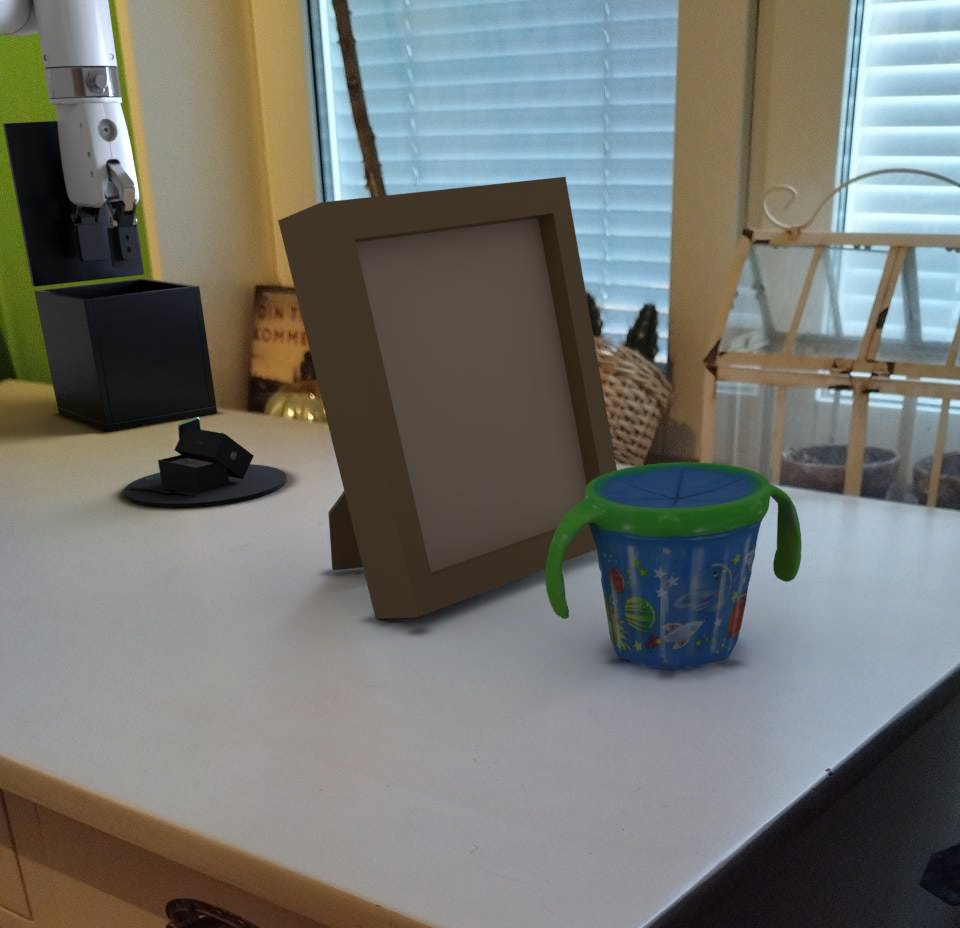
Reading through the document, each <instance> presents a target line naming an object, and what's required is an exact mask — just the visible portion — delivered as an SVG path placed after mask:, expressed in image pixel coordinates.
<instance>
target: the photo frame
mask: <svg viewBox="0 0 960 928" xmlns="http://www.w3.org/2000/svg"><path fill="white" fill-rule="evenodd" d="M277 222H278V226H279V230H280V234H281V238H282V242H283V246H284V250H285V255H286V260H287V263H288V267H289V271H290V275H291V280H292V284H293V288H294V291H295V295H296V300H297V303H298V308H299V312H300V317H301V320H302V325H303V328H304V333H305V337H306V340H307V344H308V348H309V353H310V356H311V361H312V364H313V365H312V366H313V369H314V373H315V377H316V381H317V385H318V390H319V394H320V398H321V401H322V405H323V409H324V410H323V411H324V413H325V418H326V422H327V426H328V430H329V435H330V439H331V444H332V446H333V451H334V455H335V458H336V463H337V466H338V471H339V475H340V479H341V484H342V487H343V492H342V493H341V495H340V496H339V497H338V499H337V500H336V501H335V502H334V504H333V505H332V506H331V508H330V509H329V510H328V513H327V514H328V527H329V541H330V542H329V543H330V557H331V569H332V571H341V570H351V569H363V574H364V577H365V582H366V586H367V590H368V594H369V597H370V602H371V606H372V610H373V614H374V618H375V620H380V619H404V618H405V619H406V618H419V617H423V616H425V615H428V614H430V613H433V612H436V611H438V610H440V609H443V608H446V607H448V606H451V605H455V604H457V603H459V602H462V601H465V600H467V599H469V598H470V599H471V598H473V597H475V596H477V595H478V596H479V595H480V594H483V593H486V592H489V591H490V590H494V589H496V588H499V587H501V586H504V585H506V584H509V583H512V582H515V581H517V580H519V579H522V578H525V577H528V576H530V575H533V574H536V573H539V572H541V571H543V570H546V563H547V557H548V552H549V547H550V545H551V542H552V539H553V536H554V533H555V531H556V529H557V527H558V526H559V524H560V522H561V521H562V519H563V517H564V515H565V513H567V512H568V511H570V510H571V509H572V508H573V507H574V506H575V505H577V504H578V503H579V502H580V501H582V499H583V498H584V495H585V488H586V486H587V485H588V483H589V482H591V481H592V480H593V479H595V478H597V477H599V476H601V475H603V474H606V473H609V472H613V471H616V470H618V468H617V462H616V457H615V452H614V451H615V450H614V445H613V439H612V434H611V428H610V422H609V418H608V416H609V415H608V411H607V405H606V399H605V395H604V387H603V383H602V376H601V371H600V365H599V359H598V354H597V348H596V343H595V337H594V332H593V326H592V319H591V315H590V308H589V303H588V297H587V291H586V285H585V280H584V275H583V274H584V273H583V269H582V263H581V258H580V251H579V246H578V245H579V244H578V241H577V233H576V228H575V224H574V216H573V212H572V206H571V200H570V195H569V187H568V183H567V177H566V176H560V177H549V178H540V179H539V178H538V179H530V180H529V179H528V180H521V181H510V182H501V183H493V184H491V183H490V184H482V185H473V186H464V187H455V188H453V187H452V188H445V189H444V188H443V189H434V190H426V191H425V190H424V191H416V192H406V193H396V194H387V195H386V194H385V195H378V196H368V197H367V196H366V197H359V198H349V199H340V200H330V201H321V202H319V203H316V204H314V205H312V206H309V207H306V208H305V209H302V210H300V211H297V212H295V213H293V214H290V215H288V216H285V217H283V218H281V219H278V220H277ZM593 551H597V549H596V545H595V542H594V539H593V536H592V533H591V530H590V527H589V524H586V525H584V526H583V527H582V528H581V529H580V531H579V532H578V533H577V535H576V536H575V538H574V539H573V540H572V542H571V543H570V544H569V545H568V546H567V548H566V550H565V553H564V556H563V559H562V563H564V562H567V561H570V560H572V559H575V558H578V557H580V556H583V555H586V554H588V553H591V552H593Z"/></svg>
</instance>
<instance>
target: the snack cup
mask: <svg viewBox="0 0 960 928" xmlns="http://www.w3.org/2000/svg"><path fill="white" fill-rule="evenodd" d="M771 498H772V499H773V500H774V502H776V503H777V519H776V520H777V521H776V522H777V523H776V524H777V527H776V549H775V552H774V557H773V563H772V565H773V566H772V567H773V568H772V569H773V573H774V576H775V577H776V579H778V580H780V581H782V582H786V583H788V582H792V581H793V580H794V579H795V578H796V577H797V575H798V573H799V570H800V566H801V561H802V532H801V524H800V520H799V514H798V511H797V508H796V506H795V503H794V501H793V500H792V498H791V497H790V496H789V495H788V493H786V491H784V490H782V489H781V488H779V487H778V486H776V485H774V484H771V483H770V481H769V480H768V479H767V478H766V477H765V475H763V474H760V472H759V473H758V472H756V471H754V470H752V469H748V468H745V467H741V466H740V467H739V466H735V465H729V464H722V463H714V462H713V463H711V462H694V461H693V462H691V461H682V462H679V461H678V462H677V461H676V462H661V463H651V464H642V465H635V466H629V467H625V468H620V469H617V470H616V471H613V472H609V473H606V474H603V475H601V476H599V477H597V478H595V479H593V480H592V481H591V482H589V483H588V485H587V486H586V488H585V495H584V498H583V499H582V501H580V502H579V503H578V504H577V505H575V506H574V507H573V508H572V509H571V510H570V511H568V512H567V513H565V515H564V517H563V519H562V521H561V522H560V524H559V526H558V527H557V529H556V531H555V533H554V536H553V539H552V542H551V545H550V547H549V552H548V557H547V563H546V569H545V589H546V594H547V597H548V600H549V604H550V606H551V608H552V610H553V612H554V613H555V615H556V616H558V617H560V618H561V619H563V620H566V619H568V618H569V617H570V610H569V606H568V603H567V598H566V587H565V578H564V574H563V562H562V559H563V556H564V553H565V550H566V548H567V546H568V545H569V544H570V543H571V542H572V540H573V539H574V538H575V536H576V535H577V533H578V532H579V531H580V529H581V528H582V527H583V526H584V525H586V524H589V527H590V530H591V533H592V536H593V539H594V542H595V545H596V555H597V562H598V563H597V564H598V568H599V570H600V576H601V577H600V582H601V583H600V584H601V588H602V594H603V600H604V606H605V613H606V619H607V625H608V632H609V637H610V641H611V643H612V645H613V648H614V651H615V653H616V655H617V657H618V658H619V659H623V660H626V661H629V662H631V663H634V664H636V665H639V666H644V667H647V668H651V669H655V670H657V669H660V670H669V671H675V670H685V669H694V668H699V667H704V666H706V665H709V664H711V663H713V662H719V661H725V660H727V659H728V658H729V657H730V656H731V653H732V652H733V650H734V649H735V647H736V645H737V643H738V640H739V637H740V632H741V629H742V625H743V620H744V614H745V609H746V604H747V599H748V590H749V585H750V581H751V579H752V578H751V577H752V571H753V564H754V561H755V557H756V549H757V543H758V537H759V534H760V533H759V532H760V529H761V524H762V522H763V520H764V518H765V516H767V513H768V511H769V507H770V501H771Z"/></svg>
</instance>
